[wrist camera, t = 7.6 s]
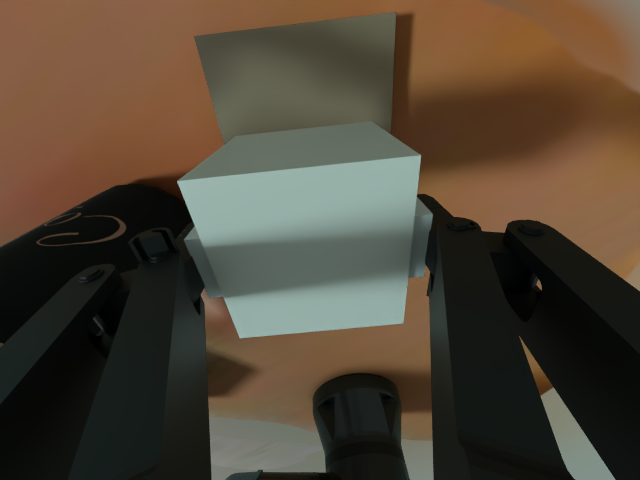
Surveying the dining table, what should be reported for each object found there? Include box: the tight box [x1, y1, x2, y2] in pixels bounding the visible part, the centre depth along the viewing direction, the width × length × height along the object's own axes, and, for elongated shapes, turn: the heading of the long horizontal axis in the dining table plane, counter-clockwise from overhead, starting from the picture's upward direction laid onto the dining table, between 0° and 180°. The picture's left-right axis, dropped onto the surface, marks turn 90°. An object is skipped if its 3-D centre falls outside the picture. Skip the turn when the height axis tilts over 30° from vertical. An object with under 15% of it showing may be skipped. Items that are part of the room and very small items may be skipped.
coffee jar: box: [0, 184, 193, 347], centre depth 20 cm, size 11×11×18 cm
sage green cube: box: [177, 121, 421, 338], centre depth 12 cm, size 7×7×7 cm
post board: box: [194, 12, 396, 145], centre depth 20 cm, size 18×14×9 cm
